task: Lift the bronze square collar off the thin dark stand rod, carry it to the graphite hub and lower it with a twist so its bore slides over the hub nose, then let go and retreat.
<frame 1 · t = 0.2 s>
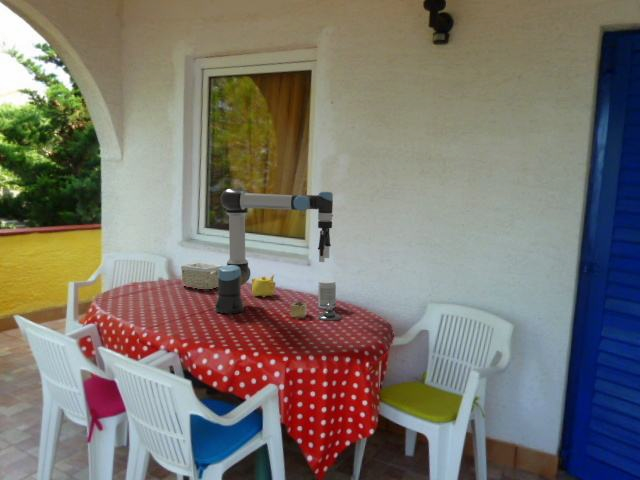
hand: (324, 260, 264), 27 cm above the table, fingers open, 13 cm apart
hub: (329, 317, 252), on the table
storage basket: (202, 287, 317), on the table
stand rod: (298, 315, 255), on the table
teapot: (265, 295, 298), on the table
collar: (298, 315, 255), on the table
supplement tub: (326, 307, 273), on the table
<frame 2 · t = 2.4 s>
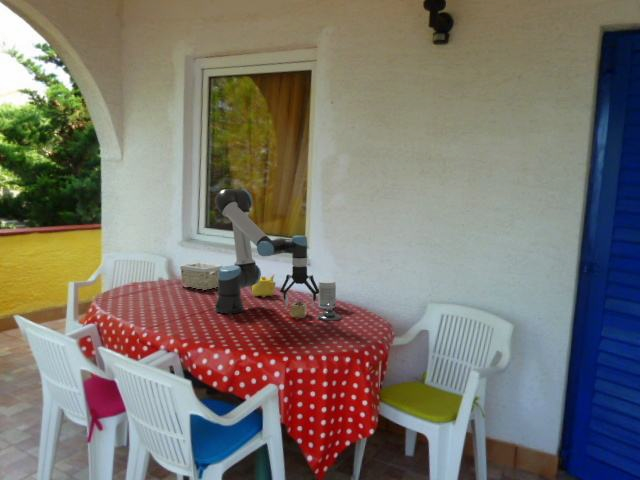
hand: (299, 306, 254), 5 cm above the table, fingers open, 13 cm apart
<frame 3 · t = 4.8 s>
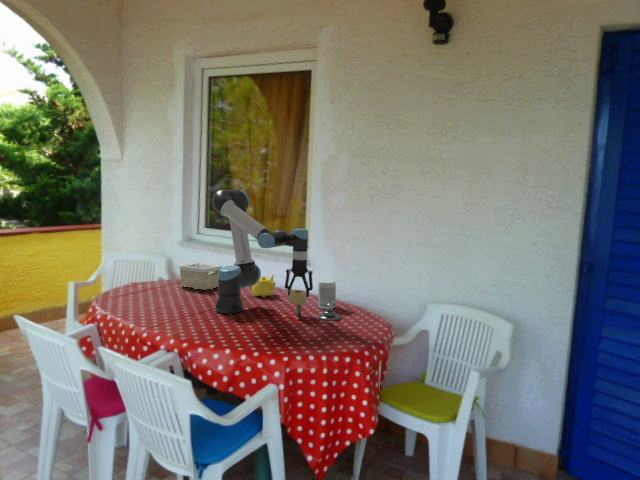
hand: (298, 302, 254), 7 cm above the table, fingers closed on collar, 7 cm apart
collar: (298, 303, 254), point 7 cm above the table, touching gripper
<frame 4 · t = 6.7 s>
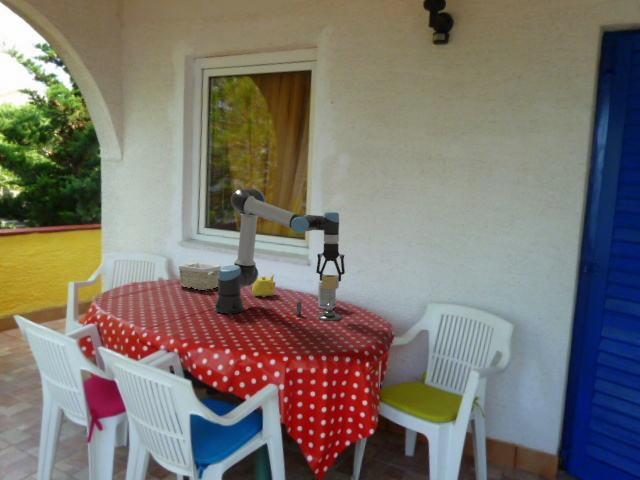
hand: (330, 287, 251), 16 cm above the table, fingers closed on collar, 7 cm apart
collar: (330, 287, 251), point 16 cm above the table, touching gripper
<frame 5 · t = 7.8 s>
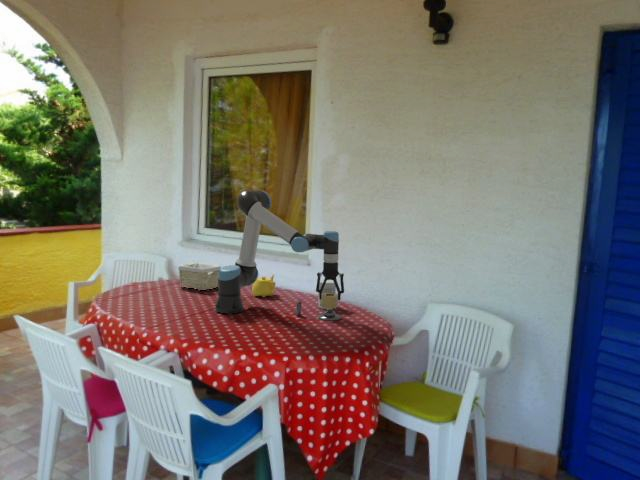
hand: (329, 305, 252), 6 cm above the table, fingers closed on collar, 7 cm apart
collar: (329, 306, 252), point 6 cm above the table, touching gripper
when the fingers open (3 cm above the table, at t = 8.9 s): collar stays where it is, resting on hub.
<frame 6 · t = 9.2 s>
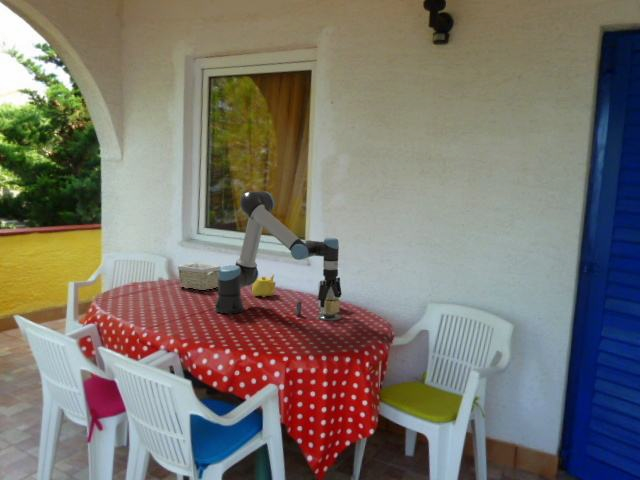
hand: (329, 311, 252), 3 cm above the table, fingers open, 10 cm apart
collar: (329, 311, 252), point 3 cm above the table, touching hub
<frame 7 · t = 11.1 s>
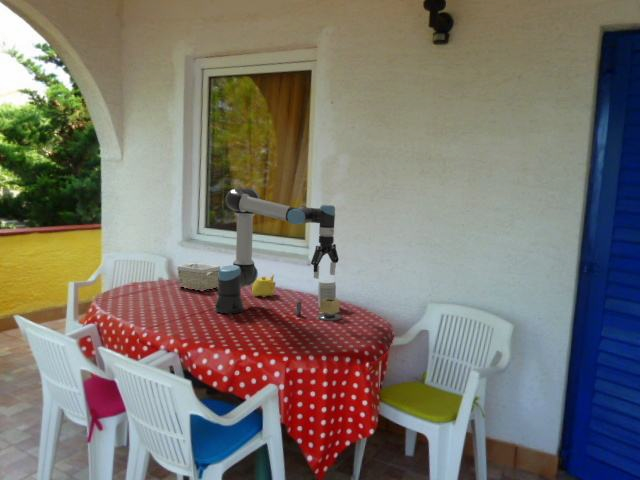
hand: (324, 276, 252), 21 cm above the table, fingers open, 13 cm apart
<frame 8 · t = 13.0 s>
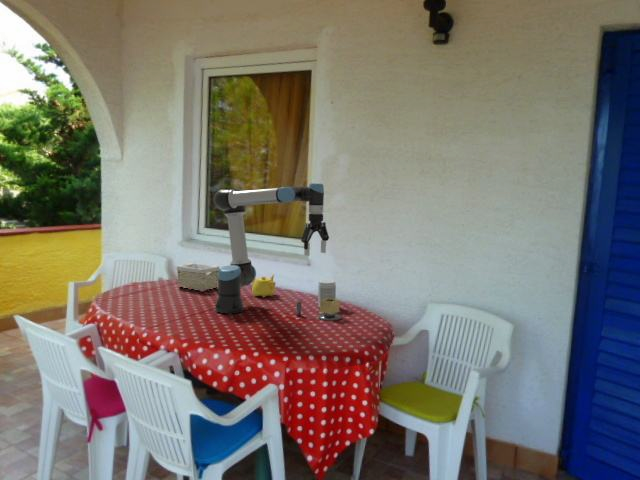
hand: (315, 254, 256), 32 cm above the table, fingers open, 13 cm apart
at the end: collar 0.1 cm off-centre on the hub, point 3.0 cm above the hub's base; the gripper is holding nothing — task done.
